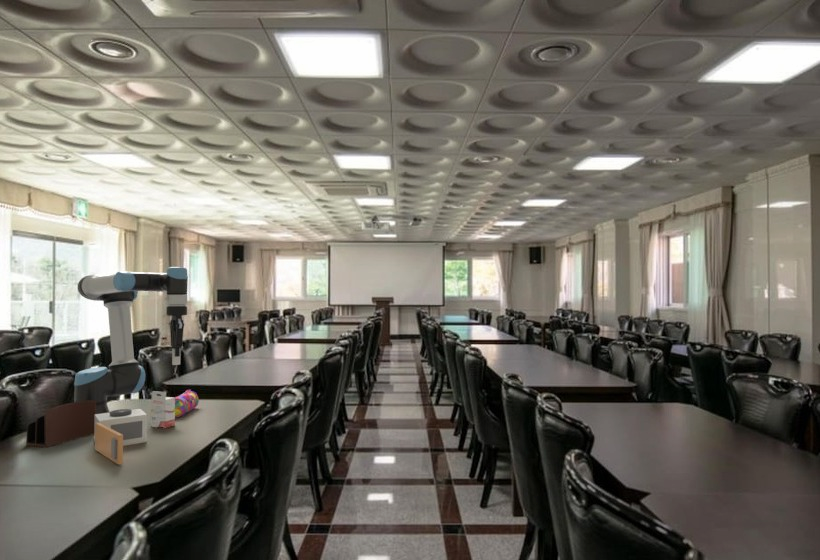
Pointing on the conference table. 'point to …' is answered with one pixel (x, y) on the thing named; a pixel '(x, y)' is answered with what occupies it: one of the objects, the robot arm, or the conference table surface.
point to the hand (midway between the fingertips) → (176, 364)
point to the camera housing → (126, 424)
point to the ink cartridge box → (162, 410)
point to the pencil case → (185, 402)
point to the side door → (109, 443)
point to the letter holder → (62, 424)
